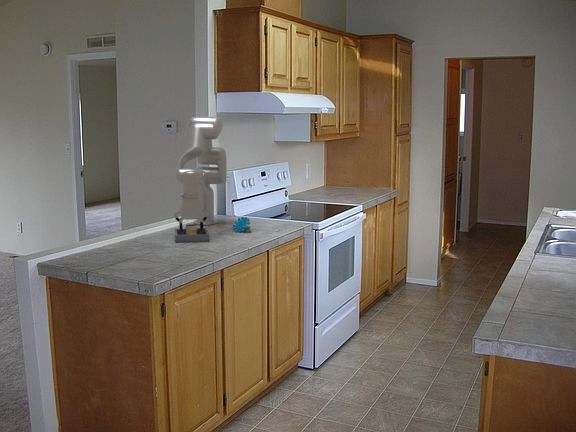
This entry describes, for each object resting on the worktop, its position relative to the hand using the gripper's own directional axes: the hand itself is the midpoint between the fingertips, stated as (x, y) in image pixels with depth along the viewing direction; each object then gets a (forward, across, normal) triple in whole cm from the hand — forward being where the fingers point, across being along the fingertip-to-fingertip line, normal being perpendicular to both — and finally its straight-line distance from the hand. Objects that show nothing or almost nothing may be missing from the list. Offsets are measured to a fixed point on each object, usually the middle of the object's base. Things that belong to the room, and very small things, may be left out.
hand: (191, 230), depth 307 cm
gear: (+5, +27, +14) cm, 31 cm away
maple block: (+3, 0, 0) cm, 3 cm away
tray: (+4, 0, 0) cm, 4 cm away
